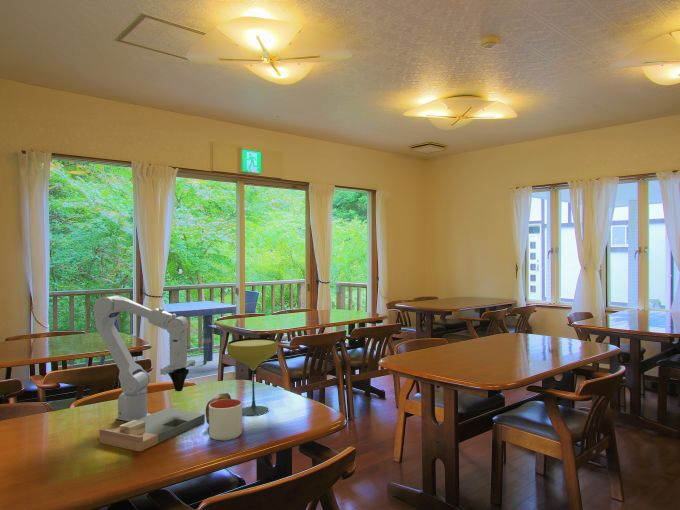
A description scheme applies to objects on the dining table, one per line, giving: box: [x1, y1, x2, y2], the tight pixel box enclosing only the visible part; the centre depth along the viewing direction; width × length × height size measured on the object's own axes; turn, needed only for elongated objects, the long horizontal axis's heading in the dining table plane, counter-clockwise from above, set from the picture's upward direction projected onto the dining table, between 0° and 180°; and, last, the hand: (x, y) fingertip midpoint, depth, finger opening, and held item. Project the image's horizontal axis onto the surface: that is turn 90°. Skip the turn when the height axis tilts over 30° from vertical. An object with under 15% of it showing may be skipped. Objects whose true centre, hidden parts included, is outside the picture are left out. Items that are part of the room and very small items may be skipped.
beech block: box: [119, 420, 145, 435], centre depth 142 cm, size 4×6×3 cm
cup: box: [208, 398, 243, 442], centre depth 146 cm, size 10×10×10 cm
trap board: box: [99, 407, 206, 452], centre depth 151 cm, size 17×27×4 cm, turn 155°
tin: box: [205, 392, 232, 425], centre depth 160 cm, size 15×3×8 cm, turn 168°
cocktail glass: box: [226, 337, 279, 417], centre depth 170 cm, size 18×18×25 cm
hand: (178, 390), depth 164 cm, fingers closed
